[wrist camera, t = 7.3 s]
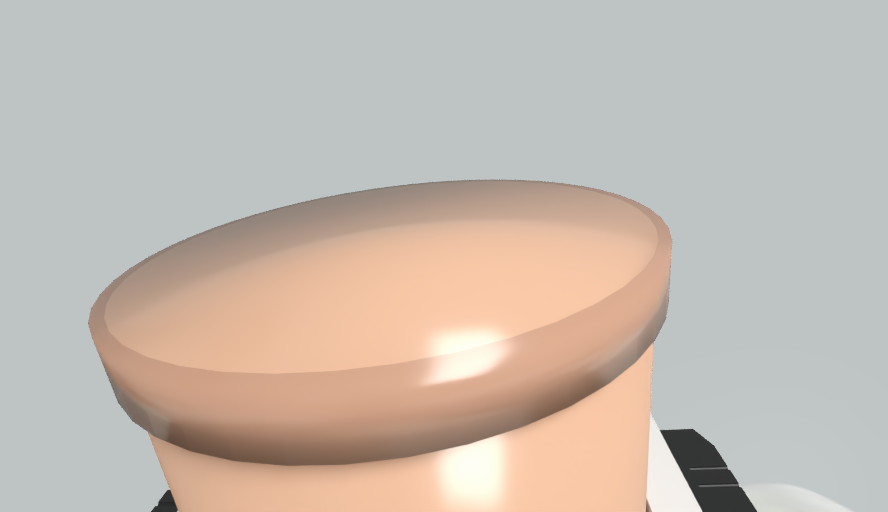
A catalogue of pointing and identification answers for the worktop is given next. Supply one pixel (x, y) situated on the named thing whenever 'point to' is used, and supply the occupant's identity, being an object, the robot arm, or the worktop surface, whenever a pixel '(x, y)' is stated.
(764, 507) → the worktop surface
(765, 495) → the worktop surface
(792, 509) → the worktop surface
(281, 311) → the jar
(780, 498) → the worktop surface
